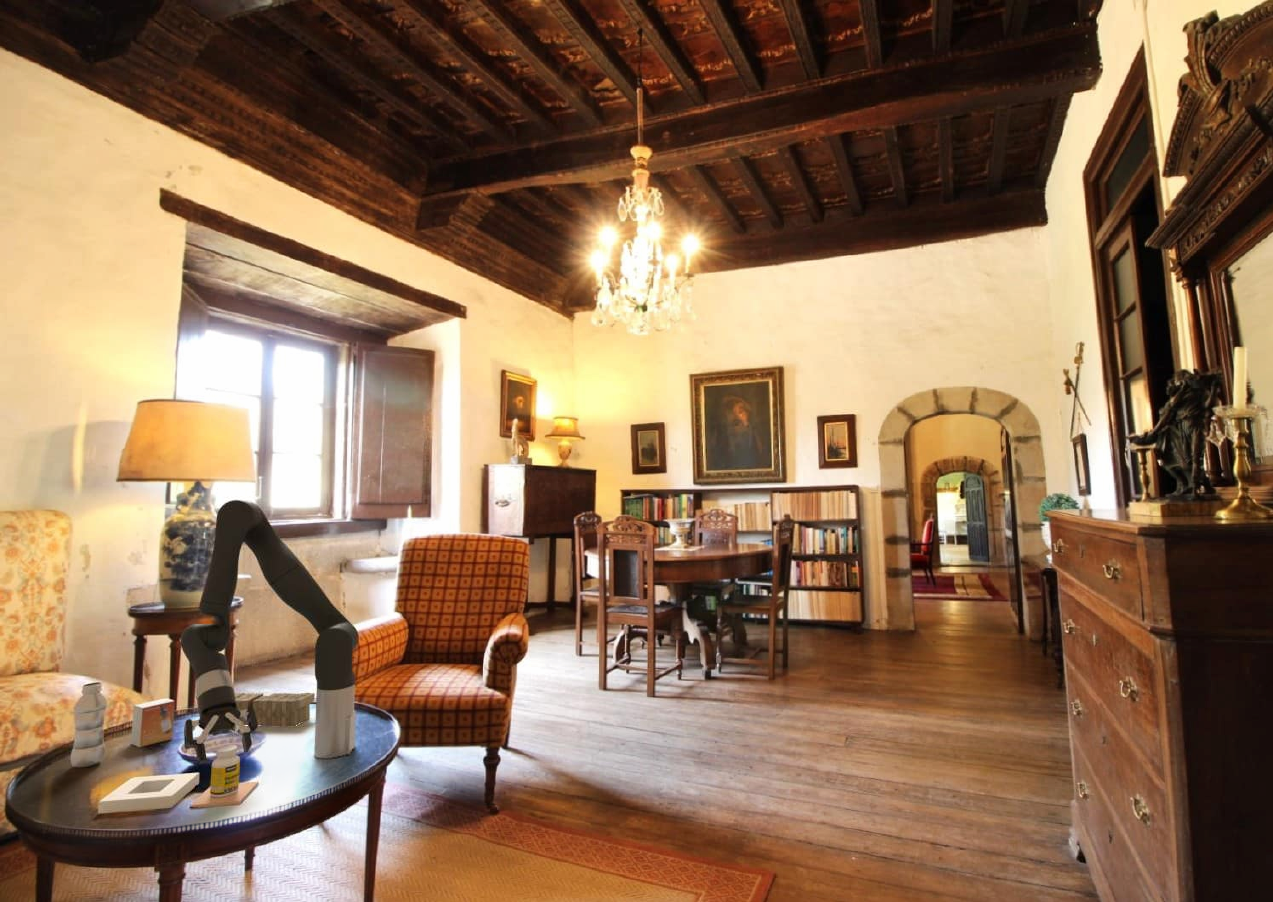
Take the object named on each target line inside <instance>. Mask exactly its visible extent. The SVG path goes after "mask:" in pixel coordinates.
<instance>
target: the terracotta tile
mask: <svg viewBox="0 0 1273 902" xmlns="http://www.w3.org/2000/svg"><path fill="white" fill-rule="evenodd" d="M258 785H259V781H249V782H239V786H238V790H237V791H236V792H235V793H234V794H231V795H229V796H226V797H212V796H211V795H210V787H211V785H209V787H208V788H207V789H205V791H204V792H202V793H201V794H200V795H199V796H198V797H197V798H196V799H195V800H194V801H193V802H192V803H191V804H189V808H190V807H198V808H207V807H219V806H220V807H221V806H222V807H223V806H230V805H231V804H234V805H241V804H242V803H241V802H244V800H245V799H246V798H247V797H248V796H249V795H250V794H251V793H252V792H253V790H255V788H256V787H257V786H258ZM240 803H241V804H240ZM231 806H232V805H231Z"/></svg>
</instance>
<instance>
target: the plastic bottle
mask: <svg viewBox="0 0 1273 902" xmlns="http://www.w3.org/2000/svg"><path fill="white" fill-rule="evenodd" d="M102 687H103V682H101V681H100V682H99V681H98V682H96V681H95V682H90V683H85V684H83V685H82V688H81V689H82V690H81V694H82V695H81V697H80V698H78V700H77V701H76V703H75V704H74V706H73V718H74V730H75V731H74V740H73V748H72V750H71V752H70V753H71V754H70V758H69V760H70V764H71V765H72V766H73V767H74V768H85V767H90V766H94V765H96V764H99V763H100V762H102V760H103V759H104V758H105V754H106V746H105V741H104V724H105V717H106V713H107V709H108V708H107V707H108V700H107V698H106V697H105V696H104V695H103V694H102V693H101V691H103V688H102Z"/></svg>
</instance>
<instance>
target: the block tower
mask: <svg viewBox="0 0 1273 902" xmlns="http://www.w3.org/2000/svg"><path fill="white" fill-rule="evenodd" d="M234 693H235V698H236V704H237V708H238V710H239V711H242V710H246V709H248V707H250V706H252V707H253V709H254V712H255V716H256V719H257V723H258V725H261V726H260V727H262V726H266V727H267V726H271V727H272V726H296V725H297V726H299V725H300V724H302V723H303V722H305V721H307V720H309V719H310V716H311V715H310V712H311V710H310V709H311V708H310V706H311V703H313V702H315V698H316V696H315V694H316V693H314V692H305V693H304V692H303V693H293V692H292V693H291V692H289V693H288V692H283V693H282V692H281V693H277V692H273V693H271V694H270V695H269V694H268V695H264V692H263V693H262V692H261V693H260V692H259V693H249V692H247V693H245V692H234ZM239 720H240V721H242V722H243V724H244V725H248V722H247V719H244V718H243V717H242V716H240V717H239ZM301 722H302V723H301ZM299 723H300V724H299ZM298 724H299V725H298ZM297 726H296V727H297Z"/></svg>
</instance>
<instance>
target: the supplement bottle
mask: <svg viewBox="0 0 1273 902" xmlns="http://www.w3.org/2000/svg"><path fill="white" fill-rule="evenodd" d="M215 753H216V754H215V757H216V758H215V759H214V760H213V761H212V763H211V770H210V771H211V773H210V786H211V787H210V786H209V787H210V795H211V796H212V797H226V796H229V795H231V794H234V793H235V792H236V791H237V790H238V786H239V783H240V782H239V781H240V768H241V766H240V764H241V763H240V762H241V758H240V756H239V755H238V754H237V753H238V746H237V745H235V744H229V745H224V746H221V747H218V748H217V749H216V752H215Z"/></svg>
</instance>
